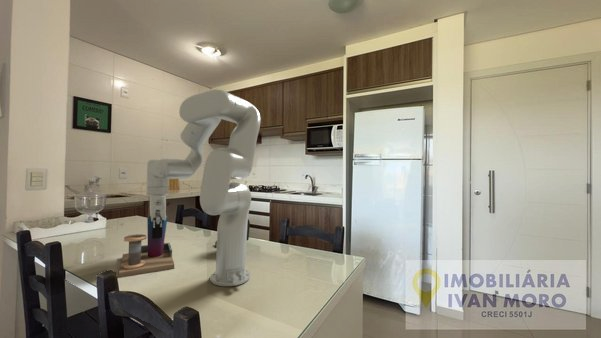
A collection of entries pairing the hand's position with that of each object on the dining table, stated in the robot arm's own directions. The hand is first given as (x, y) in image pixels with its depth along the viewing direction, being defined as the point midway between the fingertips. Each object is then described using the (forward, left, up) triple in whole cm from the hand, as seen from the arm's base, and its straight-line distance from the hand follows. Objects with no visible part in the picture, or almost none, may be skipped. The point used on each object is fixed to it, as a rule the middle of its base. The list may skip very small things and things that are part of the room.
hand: (156, 235), depth 97 cm
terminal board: (-3, +3, -9) cm, 10 cm away
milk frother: (+1, -29, -10) cm, 31 cm away
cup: (0, 0, -8) cm, 8 cm away
